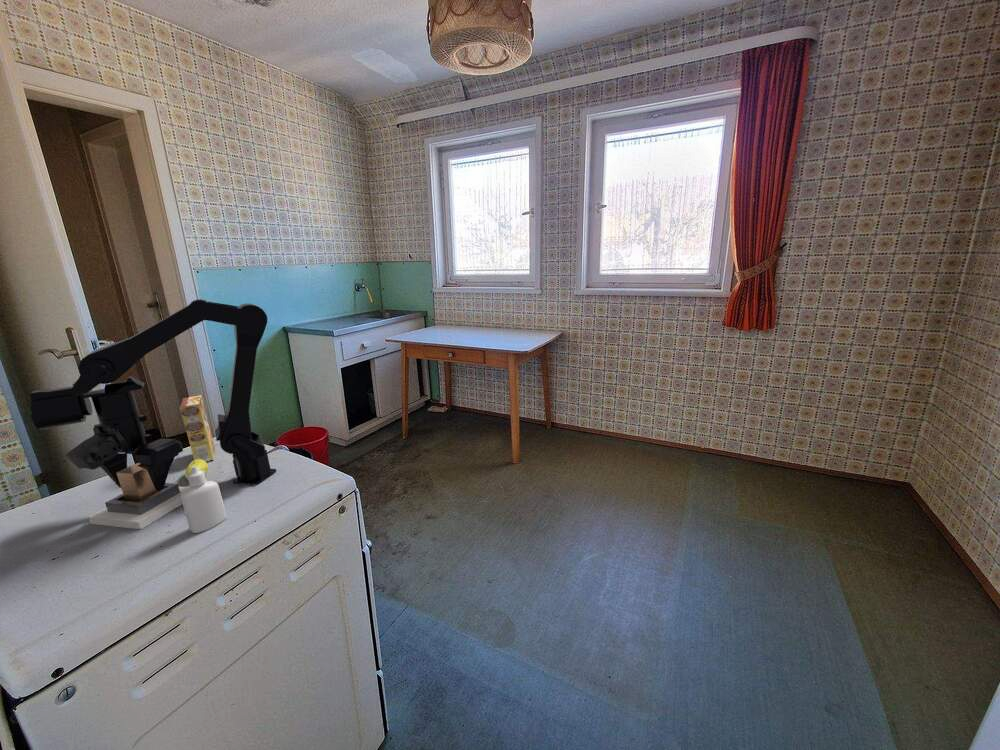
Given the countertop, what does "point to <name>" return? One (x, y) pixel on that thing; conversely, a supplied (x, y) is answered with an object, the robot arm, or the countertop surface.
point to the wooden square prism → (136, 483)
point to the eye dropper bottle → (202, 502)
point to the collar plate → (139, 509)
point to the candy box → (197, 428)
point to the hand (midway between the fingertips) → (141, 488)
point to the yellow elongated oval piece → (199, 464)
